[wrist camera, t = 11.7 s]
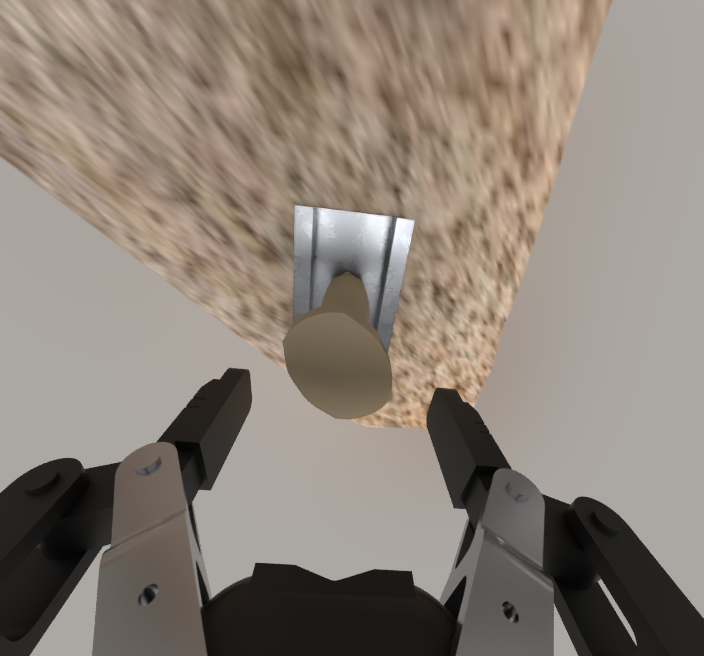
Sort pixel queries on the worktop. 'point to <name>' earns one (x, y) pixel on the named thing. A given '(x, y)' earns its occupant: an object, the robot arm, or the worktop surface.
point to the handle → (339, 353)
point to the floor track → (350, 259)
